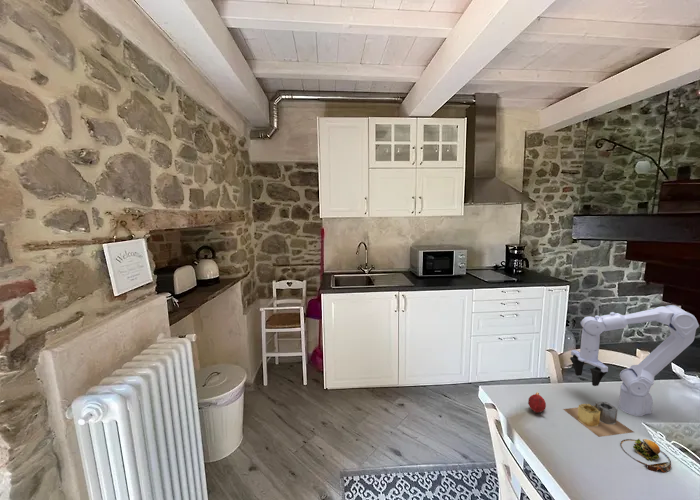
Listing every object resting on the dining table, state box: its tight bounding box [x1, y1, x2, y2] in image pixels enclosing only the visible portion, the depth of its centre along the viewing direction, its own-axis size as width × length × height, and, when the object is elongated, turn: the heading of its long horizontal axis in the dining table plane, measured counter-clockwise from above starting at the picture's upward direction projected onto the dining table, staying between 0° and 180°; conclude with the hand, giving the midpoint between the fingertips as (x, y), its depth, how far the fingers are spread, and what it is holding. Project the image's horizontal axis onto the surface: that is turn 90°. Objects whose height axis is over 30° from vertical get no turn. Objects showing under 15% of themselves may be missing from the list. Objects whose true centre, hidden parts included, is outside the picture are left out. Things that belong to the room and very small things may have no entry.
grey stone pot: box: [594, 401, 618, 424], centre depth 115 cm, size 5×5×5 cm
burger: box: [620, 438, 672, 473], centre depth 99 cm, size 12×12×8 cm
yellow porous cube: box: [577, 403, 600, 426], centre depth 114 cm, size 5×5×5 cm
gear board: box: [562, 405, 634, 438], centre depth 115 cm, size 14×15×4 cm
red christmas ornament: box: [527, 392, 547, 414], centre depth 121 cm, size 6×6×8 cm
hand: (586, 380), depth 125 cm, fingers open, 7 cm apart
